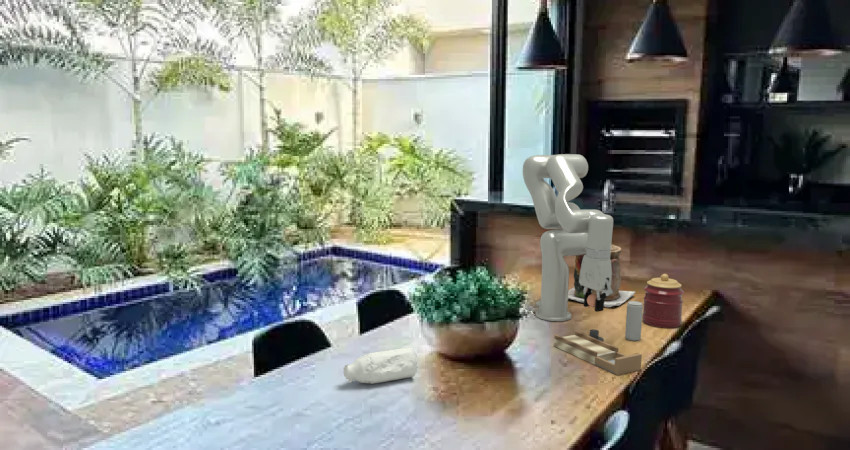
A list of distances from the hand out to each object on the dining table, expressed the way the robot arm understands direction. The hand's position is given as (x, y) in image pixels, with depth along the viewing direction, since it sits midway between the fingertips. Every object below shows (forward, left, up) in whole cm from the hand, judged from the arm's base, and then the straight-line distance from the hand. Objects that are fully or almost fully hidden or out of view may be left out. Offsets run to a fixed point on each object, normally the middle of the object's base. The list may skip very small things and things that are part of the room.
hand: (593, 308), depth 207 cm
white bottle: (+2, -75, -11) cm, 76 cm away
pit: (+22, -11, -10) cm, 27 cm away
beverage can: (+6, +12, -10) cm, 17 cm away
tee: (+1, 0, -10) cm, 10 cm away
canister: (-2, +34, -10) cm, 36 cm away
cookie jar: (-38, +37, -11) cm, 54 cm away
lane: (+9, -11, -10) cm, 18 cm away
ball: (0, 0, 0) cm, 0 cm away
